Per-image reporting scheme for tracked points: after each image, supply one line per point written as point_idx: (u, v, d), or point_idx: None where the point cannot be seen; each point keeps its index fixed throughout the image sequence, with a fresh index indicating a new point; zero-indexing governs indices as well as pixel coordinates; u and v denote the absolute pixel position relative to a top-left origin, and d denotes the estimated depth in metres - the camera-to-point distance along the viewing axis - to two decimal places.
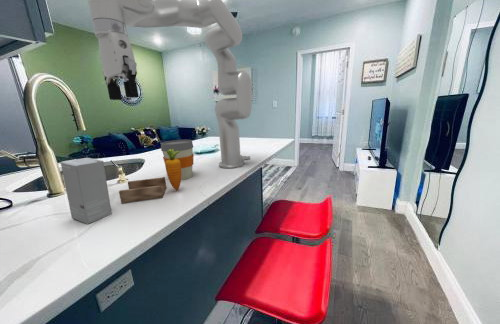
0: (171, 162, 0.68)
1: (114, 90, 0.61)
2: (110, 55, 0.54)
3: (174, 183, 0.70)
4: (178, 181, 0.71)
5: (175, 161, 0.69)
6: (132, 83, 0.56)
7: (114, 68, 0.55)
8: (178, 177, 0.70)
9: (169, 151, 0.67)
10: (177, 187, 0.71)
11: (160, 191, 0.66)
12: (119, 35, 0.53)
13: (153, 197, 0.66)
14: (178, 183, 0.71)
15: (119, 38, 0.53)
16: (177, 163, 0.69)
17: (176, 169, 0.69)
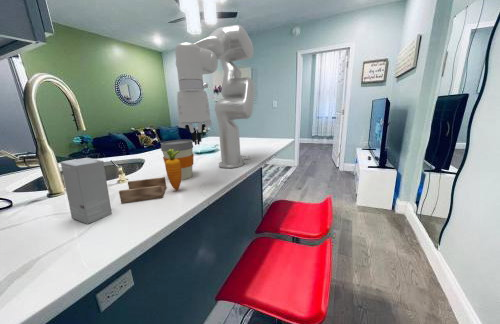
0: (171, 162, 0.68)
1: None
2: (200, 107, 0.66)
3: (174, 183, 0.70)
4: (178, 181, 0.71)
5: (175, 161, 0.69)
6: (200, 133, 0.70)
7: (202, 117, 0.67)
8: (178, 177, 0.70)
9: (169, 151, 0.67)
10: (177, 187, 0.71)
11: (160, 191, 0.66)
12: None
13: (153, 197, 0.66)
14: (178, 183, 0.71)
15: (206, 95, 0.67)
16: (177, 163, 0.69)
17: (176, 169, 0.69)
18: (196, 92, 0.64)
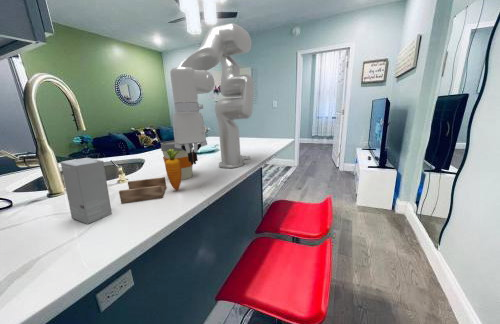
0: (171, 162, 0.68)
1: (192, 156, 0.71)
2: (196, 129, 0.67)
3: (174, 183, 0.70)
4: (178, 181, 0.71)
5: (175, 161, 0.69)
6: (196, 152, 0.71)
7: (198, 138, 0.68)
8: (178, 177, 0.70)
9: (169, 151, 0.67)
10: (177, 187, 0.71)
11: (160, 191, 0.66)
12: (201, 114, 0.69)
13: (153, 197, 0.66)
14: (178, 183, 0.71)
15: (202, 116, 0.69)
16: (177, 163, 0.69)
17: (176, 169, 0.69)
18: (191, 114, 0.66)
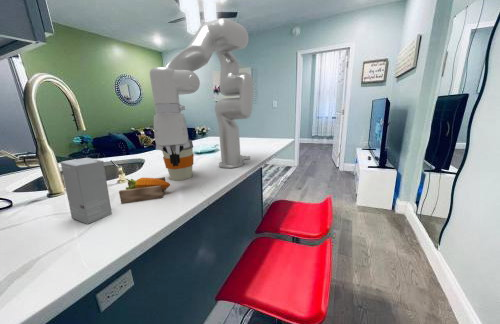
0: None
1: None
2: (177, 130, 0.66)
3: None
4: None
5: (135, 186, 0.68)
6: None
7: (180, 140, 0.67)
8: None
9: (127, 189, 0.70)
10: (164, 186, 0.69)
11: (160, 191, 0.66)
12: (183, 115, 0.67)
13: (153, 197, 0.66)
14: (159, 185, 0.68)
15: (184, 117, 0.67)
16: (137, 185, 0.68)
17: None
18: (172, 115, 0.64)
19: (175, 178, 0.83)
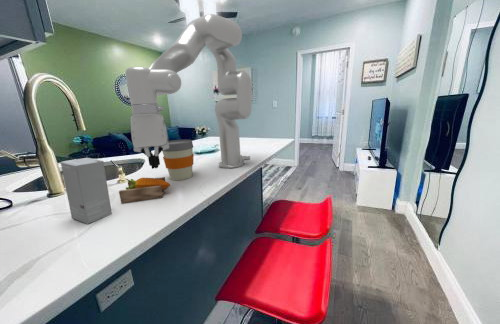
0: None
1: None
2: (155, 131, 0.64)
3: None
4: None
5: (135, 186, 0.68)
6: (158, 156, 0.69)
7: (158, 141, 0.65)
8: None
9: (127, 189, 0.70)
10: (164, 186, 0.69)
11: (160, 191, 0.66)
12: (161, 116, 0.66)
13: (153, 197, 0.66)
14: (159, 185, 0.68)
15: (162, 118, 0.66)
16: (137, 185, 0.68)
17: None
18: (150, 116, 0.63)
19: (175, 178, 0.83)
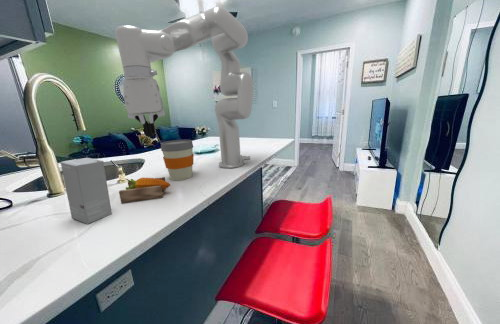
0: None
1: None
2: (149, 96, 0.62)
3: None
4: None
5: (135, 186, 0.68)
6: (153, 124, 0.66)
7: (152, 107, 0.63)
8: None
9: (127, 189, 0.70)
10: (164, 186, 0.69)
11: (160, 191, 0.66)
12: (155, 80, 0.63)
13: (153, 197, 0.66)
14: (159, 185, 0.68)
15: (156, 83, 0.63)
16: (137, 185, 0.68)
17: None
18: (143, 80, 0.60)
19: (175, 178, 0.83)
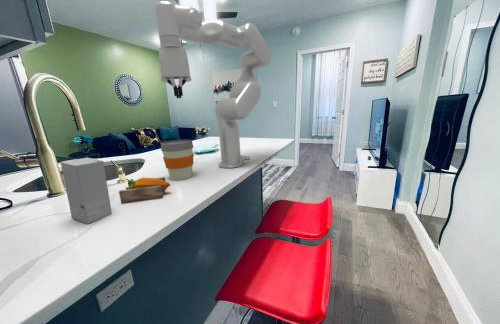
0: None
1: None
2: (180, 62, 0.74)
3: None
4: None
5: (135, 186, 0.68)
6: (181, 88, 0.78)
7: (182, 72, 0.75)
8: None
9: (127, 189, 0.70)
10: (164, 186, 0.69)
11: (160, 191, 0.66)
12: None
13: (153, 197, 0.66)
14: (159, 185, 0.68)
15: (185, 52, 0.75)
16: (137, 185, 0.68)
17: None
18: (175, 48, 0.72)
19: (175, 178, 0.83)
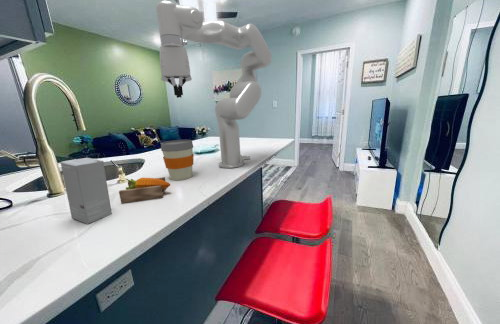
0: None
1: None
2: (180, 62, 0.74)
3: None
4: None
5: (135, 186, 0.68)
6: None
7: (182, 71, 0.75)
8: None
9: (127, 189, 0.70)
10: (164, 186, 0.69)
11: (160, 191, 0.66)
12: (185, 49, 0.75)
13: (153, 197, 0.66)
14: (159, 185, 0.68)
15: (186, 51, 0.75)
16: (137, 185, 0.68)
17: None
18: (176, 47, 0.73)
19: (175, 178, 0.83)
